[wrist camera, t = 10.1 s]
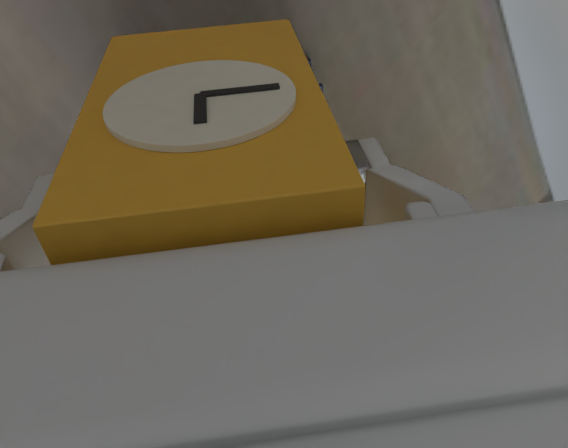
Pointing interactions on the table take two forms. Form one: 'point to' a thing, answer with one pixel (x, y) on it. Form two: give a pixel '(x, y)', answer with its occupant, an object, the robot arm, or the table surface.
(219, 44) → the clock
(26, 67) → the table surface
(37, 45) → the table surface
